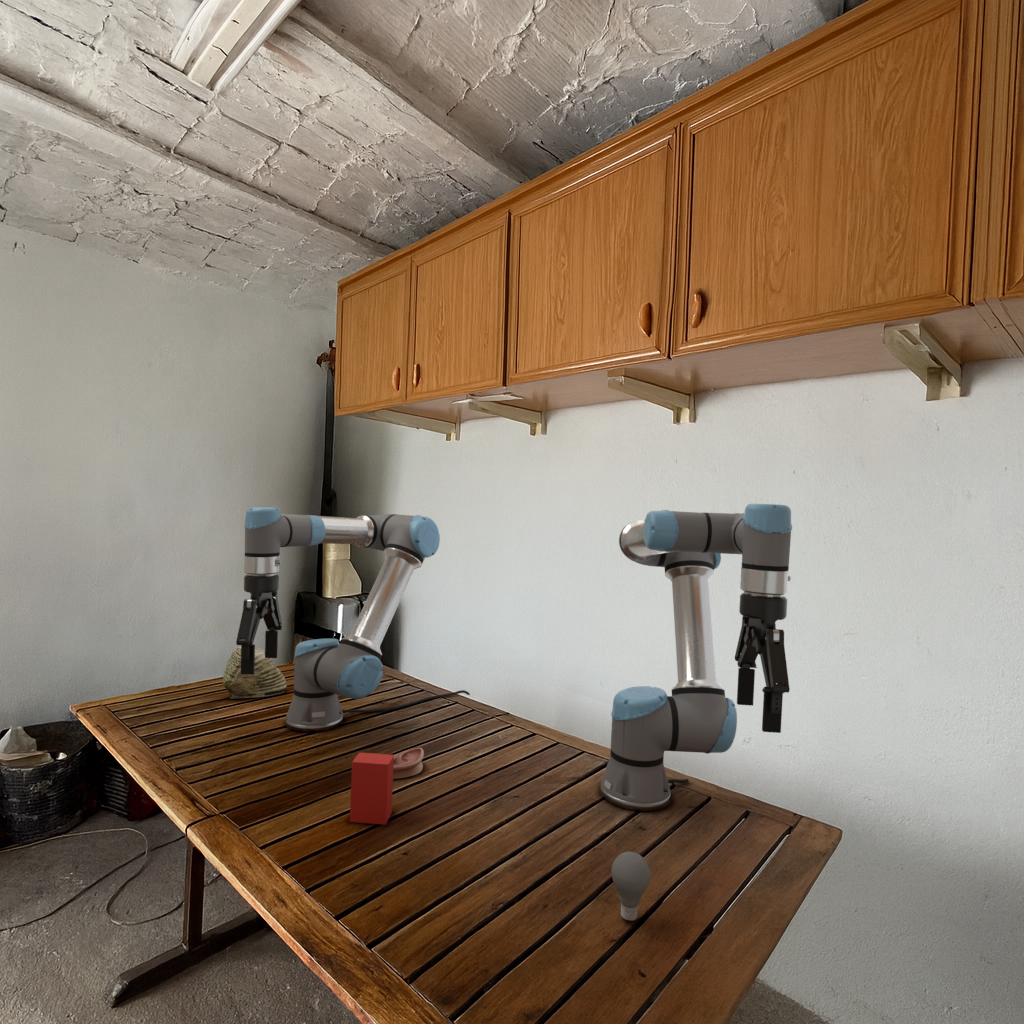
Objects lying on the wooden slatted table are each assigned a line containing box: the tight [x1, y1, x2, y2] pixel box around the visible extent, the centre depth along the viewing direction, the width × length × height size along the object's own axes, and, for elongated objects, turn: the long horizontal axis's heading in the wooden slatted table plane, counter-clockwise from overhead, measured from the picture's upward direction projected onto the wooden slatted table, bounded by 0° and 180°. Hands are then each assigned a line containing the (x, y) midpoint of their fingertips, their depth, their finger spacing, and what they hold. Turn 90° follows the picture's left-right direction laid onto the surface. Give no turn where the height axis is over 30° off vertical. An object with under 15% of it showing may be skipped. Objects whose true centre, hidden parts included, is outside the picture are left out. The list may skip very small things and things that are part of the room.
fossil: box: [222, 646, 288, 699], centre depth 198 cm, size 9×18×15 cm, turn 132°
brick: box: [349, 751, 395, 826], centre depth 126 cm, size 7×5×12 cm, turn 87°
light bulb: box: [611, 851, 652, 921], centre depth 99 cm, size 6×6×10 cm
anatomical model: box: [393, 747, 425, 780], centre depth 148 cm, size 13×4×12 cm
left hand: (259, 665), depth 147 cm, fingers open, 13 cm apart
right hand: (757, 717), depth 109 cm, fingers open, 13 cm apart
